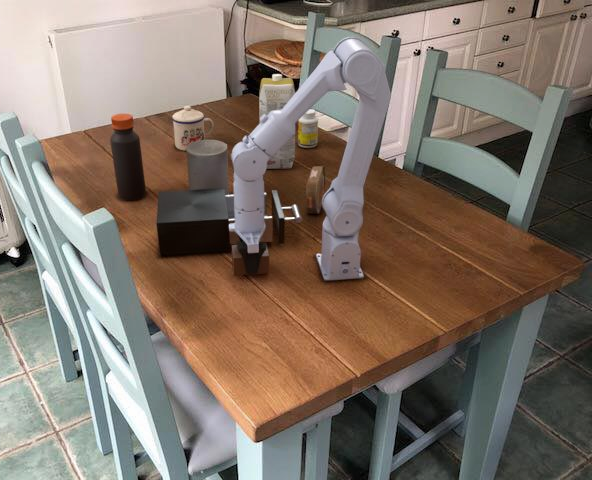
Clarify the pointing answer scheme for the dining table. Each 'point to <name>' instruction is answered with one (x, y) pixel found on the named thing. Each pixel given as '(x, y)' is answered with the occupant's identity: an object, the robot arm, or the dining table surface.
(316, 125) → the supplement bottle
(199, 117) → the teacup with lid
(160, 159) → the dining table surface
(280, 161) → the juice carton
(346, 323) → the dining table surface
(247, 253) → the robot arm
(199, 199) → the black box
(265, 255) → the packet
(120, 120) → the vinegar
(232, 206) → the drawer
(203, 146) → the pillar candle
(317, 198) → the tin
